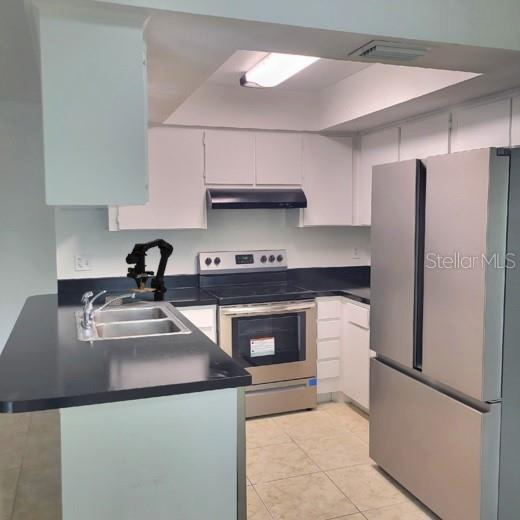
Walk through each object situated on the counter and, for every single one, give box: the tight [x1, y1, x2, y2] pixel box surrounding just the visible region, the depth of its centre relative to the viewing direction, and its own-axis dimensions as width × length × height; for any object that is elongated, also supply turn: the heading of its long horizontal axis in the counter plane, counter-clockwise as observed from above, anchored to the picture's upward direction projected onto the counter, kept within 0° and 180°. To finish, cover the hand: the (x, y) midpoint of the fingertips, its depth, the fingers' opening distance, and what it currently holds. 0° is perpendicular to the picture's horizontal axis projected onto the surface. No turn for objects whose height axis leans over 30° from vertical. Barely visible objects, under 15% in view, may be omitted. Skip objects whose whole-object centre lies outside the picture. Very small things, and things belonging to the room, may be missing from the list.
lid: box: [125, 282, 156, 293], centre depth 328 cm, size 13×13×5 cm
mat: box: [122, 300, 158, 308], centre depth 329 cm, size 17×17×1 cm
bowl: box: [105, 295, 123, 306], centre depth 328 cm, size 10×10×5 cm
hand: (140, 287), depth 328 cm, fingers closed on lid, 3 cm apart
